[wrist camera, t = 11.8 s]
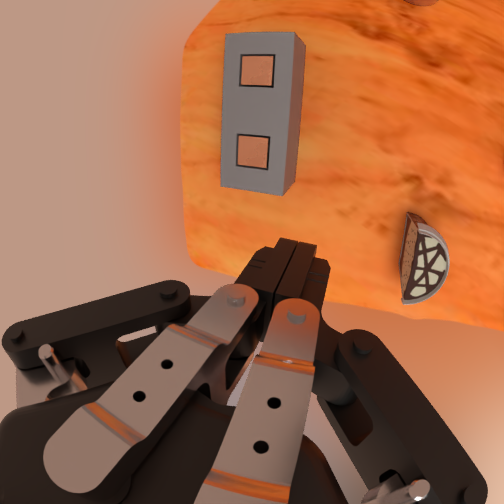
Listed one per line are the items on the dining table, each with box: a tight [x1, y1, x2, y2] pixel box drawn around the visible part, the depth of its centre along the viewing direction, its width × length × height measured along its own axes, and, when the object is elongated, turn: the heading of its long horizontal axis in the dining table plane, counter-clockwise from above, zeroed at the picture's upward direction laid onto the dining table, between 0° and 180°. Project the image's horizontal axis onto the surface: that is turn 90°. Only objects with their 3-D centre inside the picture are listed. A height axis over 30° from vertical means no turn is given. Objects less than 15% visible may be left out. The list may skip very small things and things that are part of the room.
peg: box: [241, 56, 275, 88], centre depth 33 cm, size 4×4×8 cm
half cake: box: [399, 212, 449, 305], centre depth 36 cm, size 12×6×10 cm, turn 5°
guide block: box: [221, 32, 306, 196], centre depth 36 cm, size 22×9×8 cm, turn 177°
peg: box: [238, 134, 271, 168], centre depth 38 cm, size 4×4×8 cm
